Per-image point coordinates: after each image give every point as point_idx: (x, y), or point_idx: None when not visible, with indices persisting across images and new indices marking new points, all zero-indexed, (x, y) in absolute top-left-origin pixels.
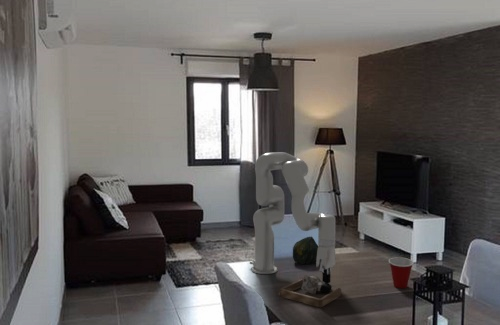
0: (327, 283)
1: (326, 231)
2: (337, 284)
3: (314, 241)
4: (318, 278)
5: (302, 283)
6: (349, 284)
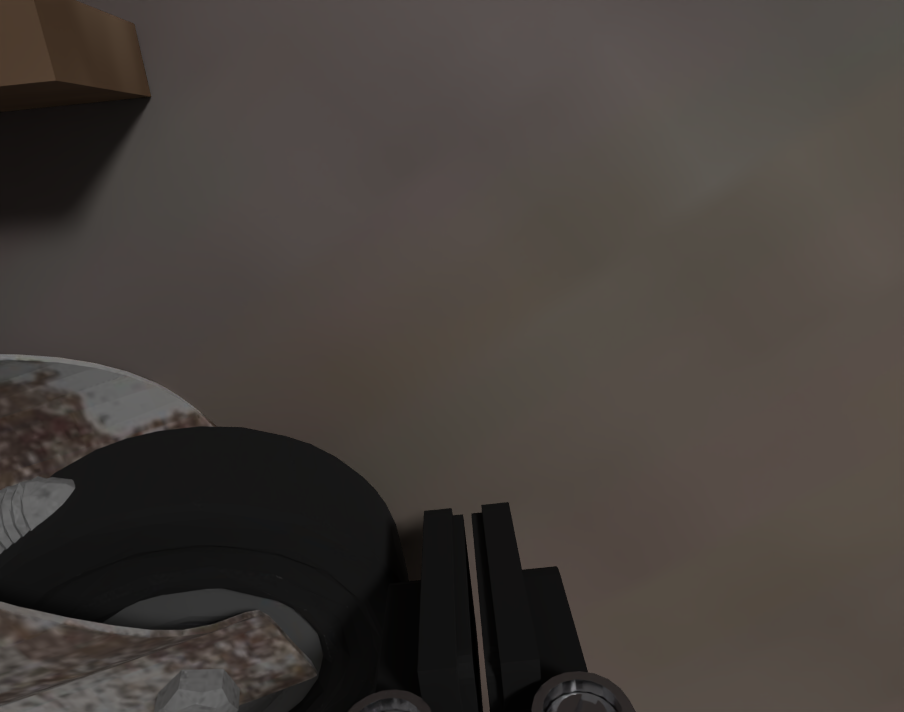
0: None
1: None
2: (747, 556)
3: None
4: (139, 654)
5: (95, 94)
6: (869, 682)
